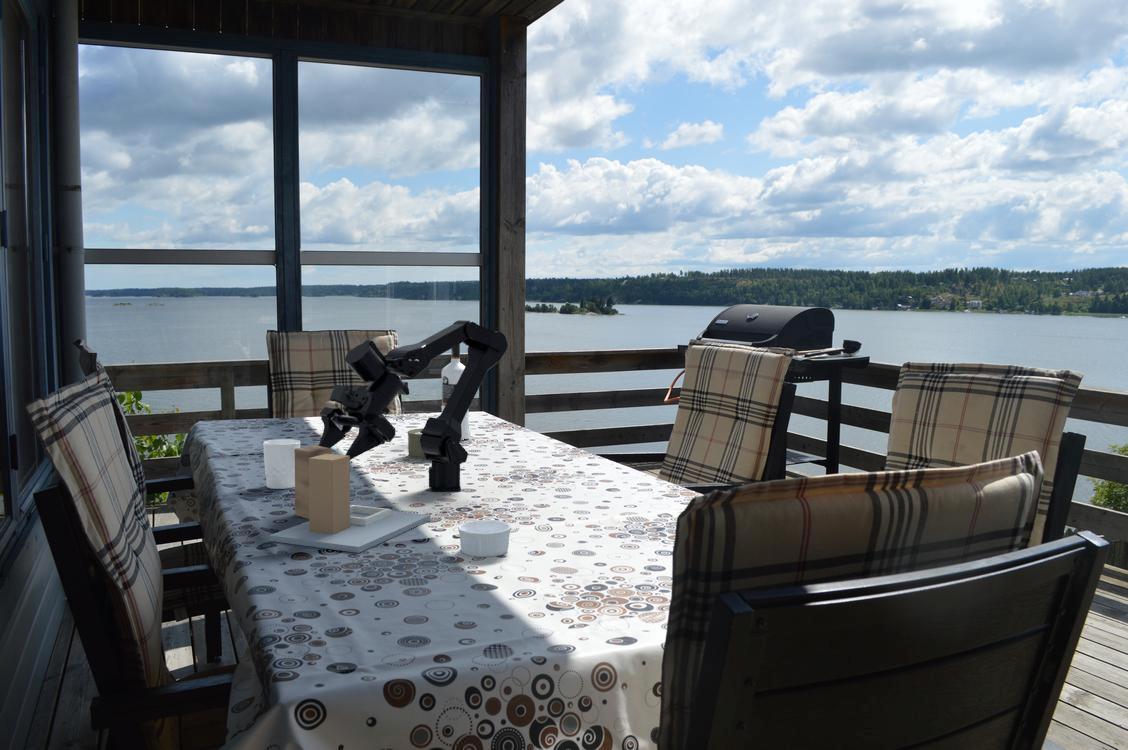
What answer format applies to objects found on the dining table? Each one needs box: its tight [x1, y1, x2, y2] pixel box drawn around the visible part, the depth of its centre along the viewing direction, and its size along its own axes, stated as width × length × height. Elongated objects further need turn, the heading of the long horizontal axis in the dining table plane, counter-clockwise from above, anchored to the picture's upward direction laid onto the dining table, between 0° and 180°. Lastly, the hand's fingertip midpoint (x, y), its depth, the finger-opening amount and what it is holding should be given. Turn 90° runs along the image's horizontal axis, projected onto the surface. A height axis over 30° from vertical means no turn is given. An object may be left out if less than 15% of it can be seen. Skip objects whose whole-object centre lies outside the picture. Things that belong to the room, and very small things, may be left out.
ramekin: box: [457, 519, 512, 558], centre depth 148 cm, size 9×9×4 cm
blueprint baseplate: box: [269, 453, 431, 554], centre depth 159 cm, size 24×18×14 cm
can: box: [407, 428, 427, 461], centre depth 237 cm, size 12×12×7 cm
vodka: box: [441, 343, 471, 441], centre depth 266 cm, size 9×9×30 cm
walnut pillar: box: [294, 445, 333, 520], centre depth 170 cm, size 5×5×13 cm
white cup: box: [262, 438, 301, 490], centre depth 196 cm, size 8×8×10 cm
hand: (331, 456), depth 173 cm, fingers open, 9 cm apart
